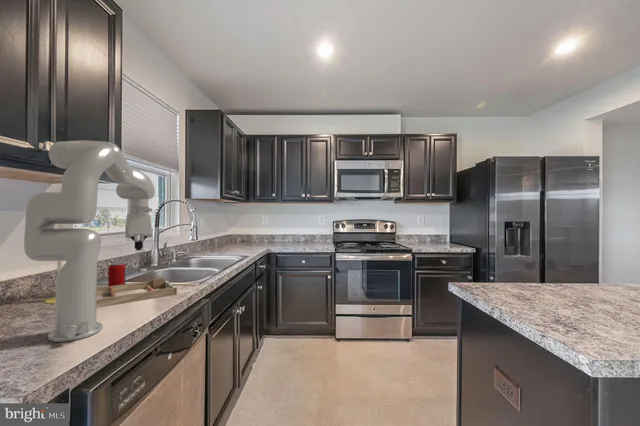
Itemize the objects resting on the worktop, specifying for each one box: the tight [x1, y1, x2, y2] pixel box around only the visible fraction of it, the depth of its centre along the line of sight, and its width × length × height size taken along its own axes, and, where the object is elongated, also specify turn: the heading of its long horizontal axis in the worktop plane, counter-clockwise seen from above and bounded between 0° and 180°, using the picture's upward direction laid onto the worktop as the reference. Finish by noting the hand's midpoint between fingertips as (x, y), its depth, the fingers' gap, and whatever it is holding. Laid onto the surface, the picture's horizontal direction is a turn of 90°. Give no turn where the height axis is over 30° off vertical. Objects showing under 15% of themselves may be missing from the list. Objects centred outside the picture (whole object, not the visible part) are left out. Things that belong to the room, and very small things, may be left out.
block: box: [150, 277, 166, 290], centre depth 142 cm, size 5×5×4 cm
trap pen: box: [96, 279, 178, 309], centre depth 129 cm, size 22×30×3 cm
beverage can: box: [107, 262, 127, 287], centre depth 140 cm, size 7×7×12 cm
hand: (138, 250), depth 136 cm, fingers closed
